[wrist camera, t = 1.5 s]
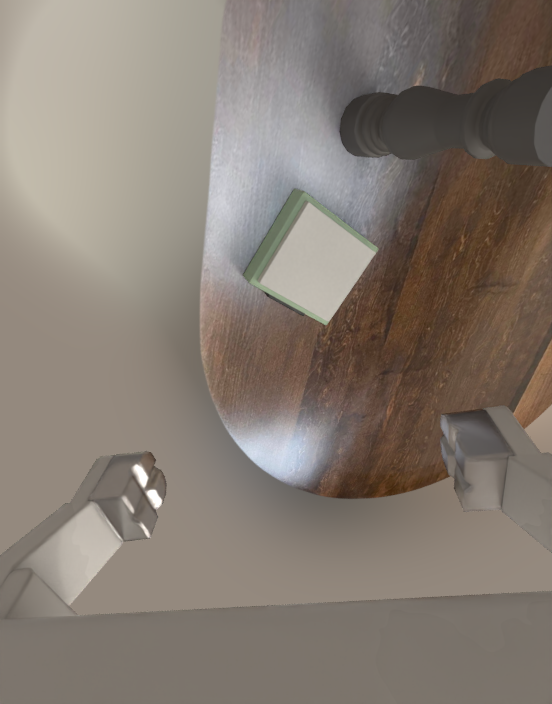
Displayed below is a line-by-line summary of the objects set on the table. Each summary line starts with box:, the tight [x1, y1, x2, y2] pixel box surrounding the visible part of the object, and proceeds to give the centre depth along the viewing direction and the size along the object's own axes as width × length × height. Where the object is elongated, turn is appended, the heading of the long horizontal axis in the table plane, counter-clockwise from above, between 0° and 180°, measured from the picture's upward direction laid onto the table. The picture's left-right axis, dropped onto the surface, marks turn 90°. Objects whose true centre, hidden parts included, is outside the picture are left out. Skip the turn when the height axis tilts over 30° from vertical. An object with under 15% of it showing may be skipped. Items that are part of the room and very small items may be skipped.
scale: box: [243, 189, 378, 325], centre depth 48 cm, size 13×12×4 cm
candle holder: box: [340, 66, 552, 167], centre depth 34 cm, size 6×6×25 cm
